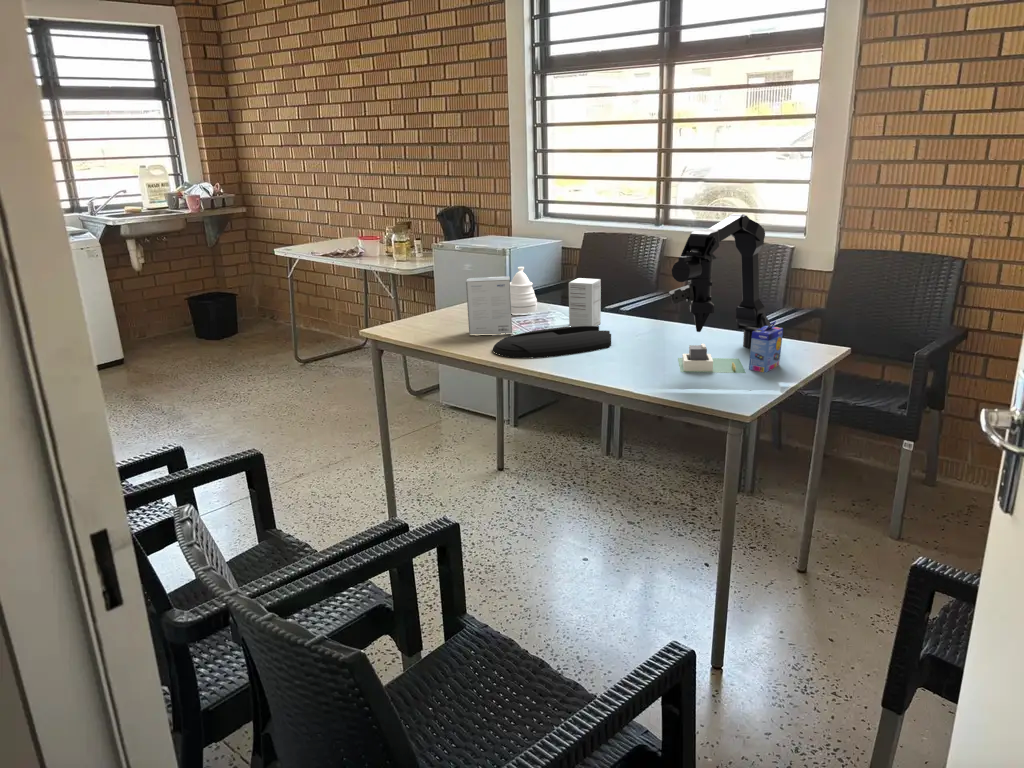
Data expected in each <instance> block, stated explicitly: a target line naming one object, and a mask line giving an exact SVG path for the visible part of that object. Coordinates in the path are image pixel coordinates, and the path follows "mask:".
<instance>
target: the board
mask: <svg viewBox="0 0 1024 768" xmlns="http://www.w3.org/2000/svg"><path fill="white" fill-rule="evenodd" d="M712 359H713V371H684V369H683V364H682V357H677V362H678V366H679V371H680V373H704V374H705V373H706V374H707V373H709V374H710V373H713V374H715V373H716V374H717V373H720V374H729V373H730V374H746V373H747V371H746V370H745V367H744V366H743V364H742V362H741V360H740V358H737V357H736V358H735V357H734V358H730V357H728V358H727V357H726V358H724V357H723V358H721V357H719V358H717V357H716V358H715V357H712Z"/></svg>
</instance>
